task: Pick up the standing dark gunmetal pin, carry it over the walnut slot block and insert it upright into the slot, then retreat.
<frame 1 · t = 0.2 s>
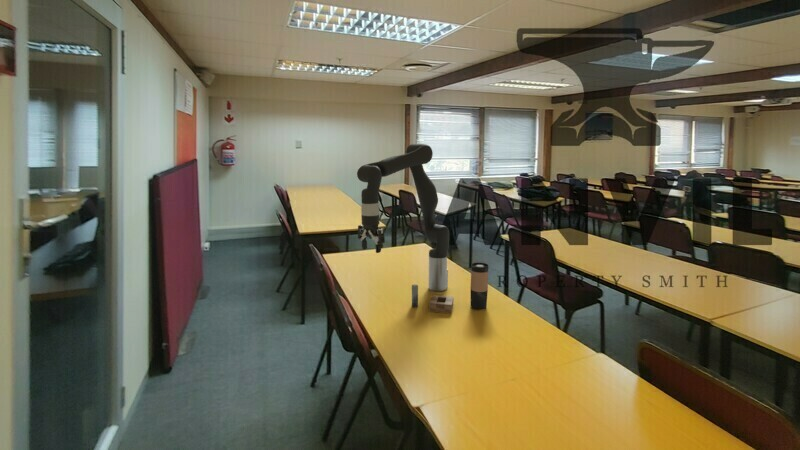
hand: (371, 250, 176), 28 cm above the table, fingers open, 8 cm apart
pin: (414, 306, 189), on the table
slot block: (441, 308, 187), on the table
travel mug: (478, 307, 188), on the table
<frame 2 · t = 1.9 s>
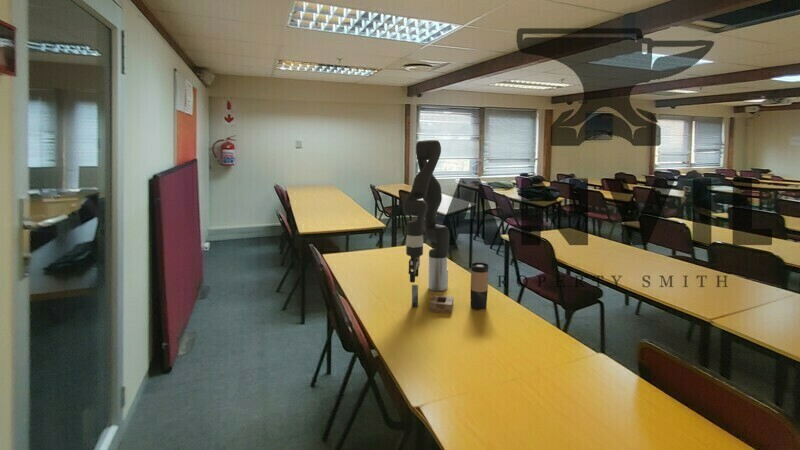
hand: (414, 279, 186), 13 cm above the table, fingers open, 8 cm apart
nothing on the table moved.
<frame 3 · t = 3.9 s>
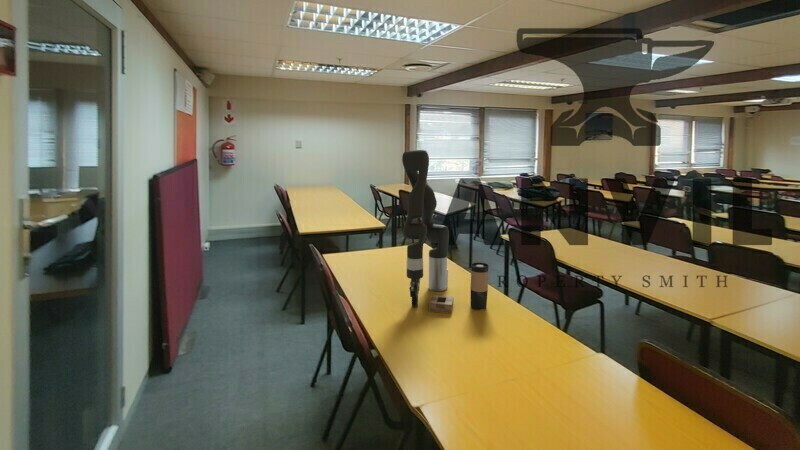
hand: (414, 302, 189), 2 cm above the table, fingers closed on pin, 2 cm apart
pin: (414, 306, 189), on the table, touching gripper
everything else where it was.
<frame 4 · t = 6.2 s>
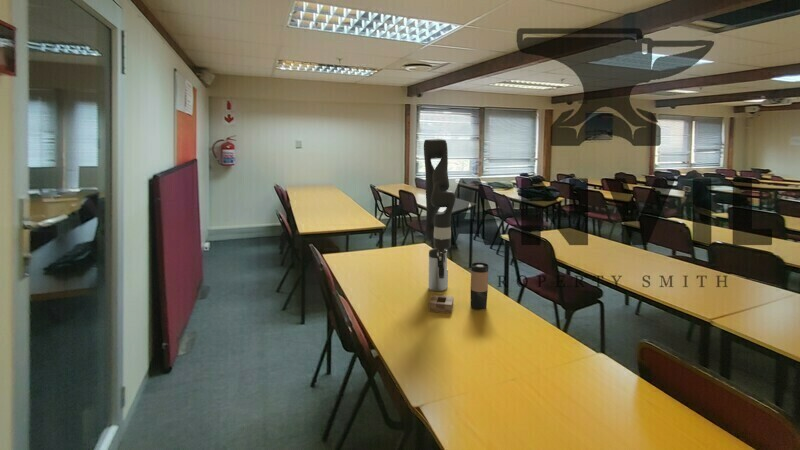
hand: (441, 274, 183), 16 cm above the table, fingers closed on pin, 2 cm apart
pin: (441, 277, 184), point 15 cm above the table, touching gripper
everything else where it was.
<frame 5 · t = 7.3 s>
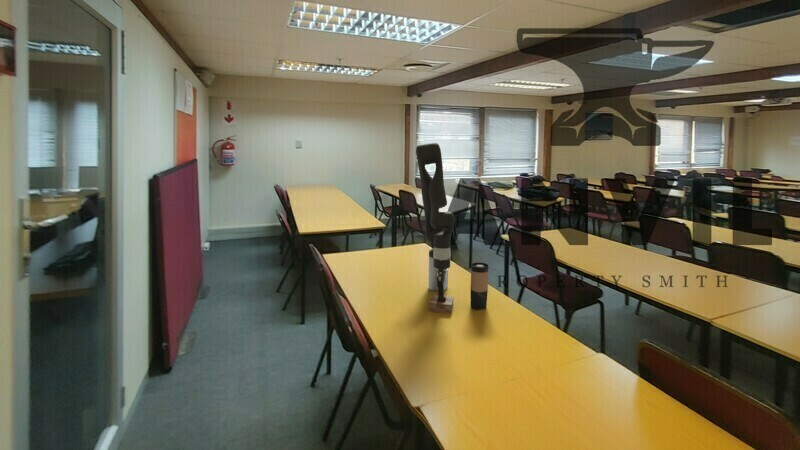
hand: (441, 293, 185), 7 cm above the table, fingers closed on pin, 2 cm apart
pin: (441, 297, 186), point 5 cm above the table, touching gripper
everything else where it was.
when the fingers open (5 cm above the table, at t = 8.4 s): pin drops 3 cm, resting in slot block.
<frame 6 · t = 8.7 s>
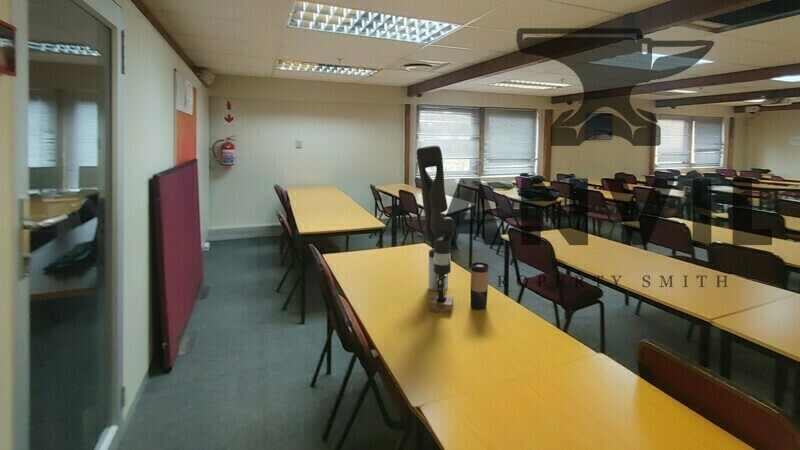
hand: (441, 297, 186), 5 cm above the table, fingers open, 6 cm apart
pin: (441, 307, 187), resting in slot block
everything else where it was.
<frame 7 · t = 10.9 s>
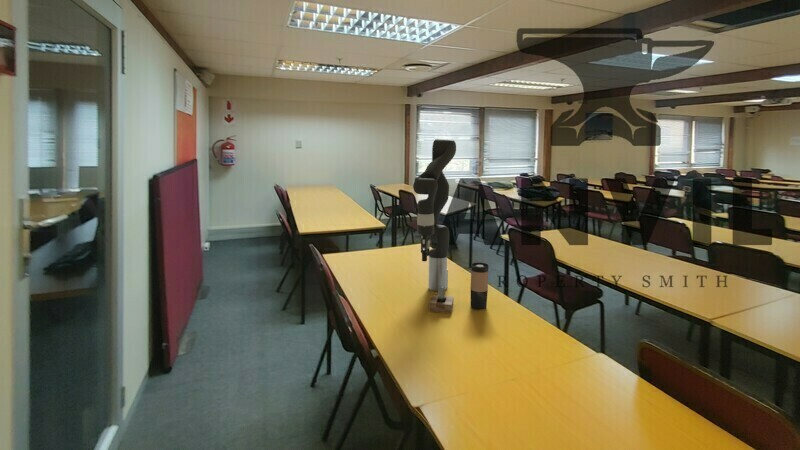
hand: (425, 258, 186), 22 cm above the table, fingers open, 8 cm apart
nothing on the table moved.
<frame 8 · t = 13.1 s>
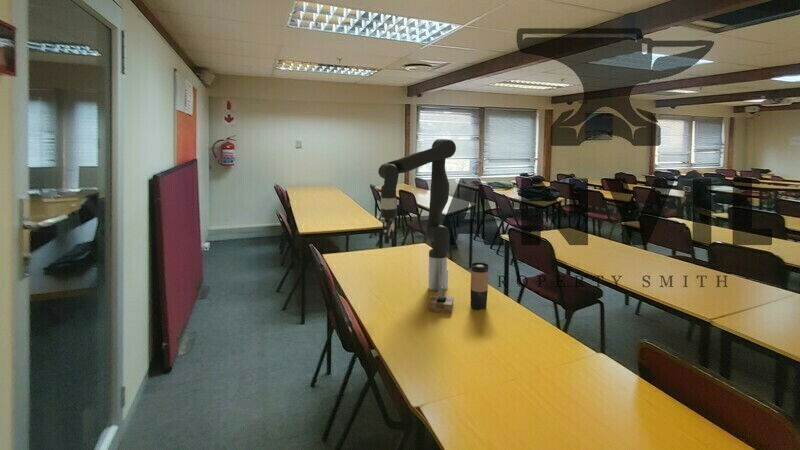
hand: (389, 241, 194), 28 cm above the table, fingers open, 8 cm apart
nothing on the table moved.
at the end: pin 0.3 cm off-centre on the slot block, point 0.0 cm above the slot block's base; pin tilted 0°; the gripper is holding nothing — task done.
